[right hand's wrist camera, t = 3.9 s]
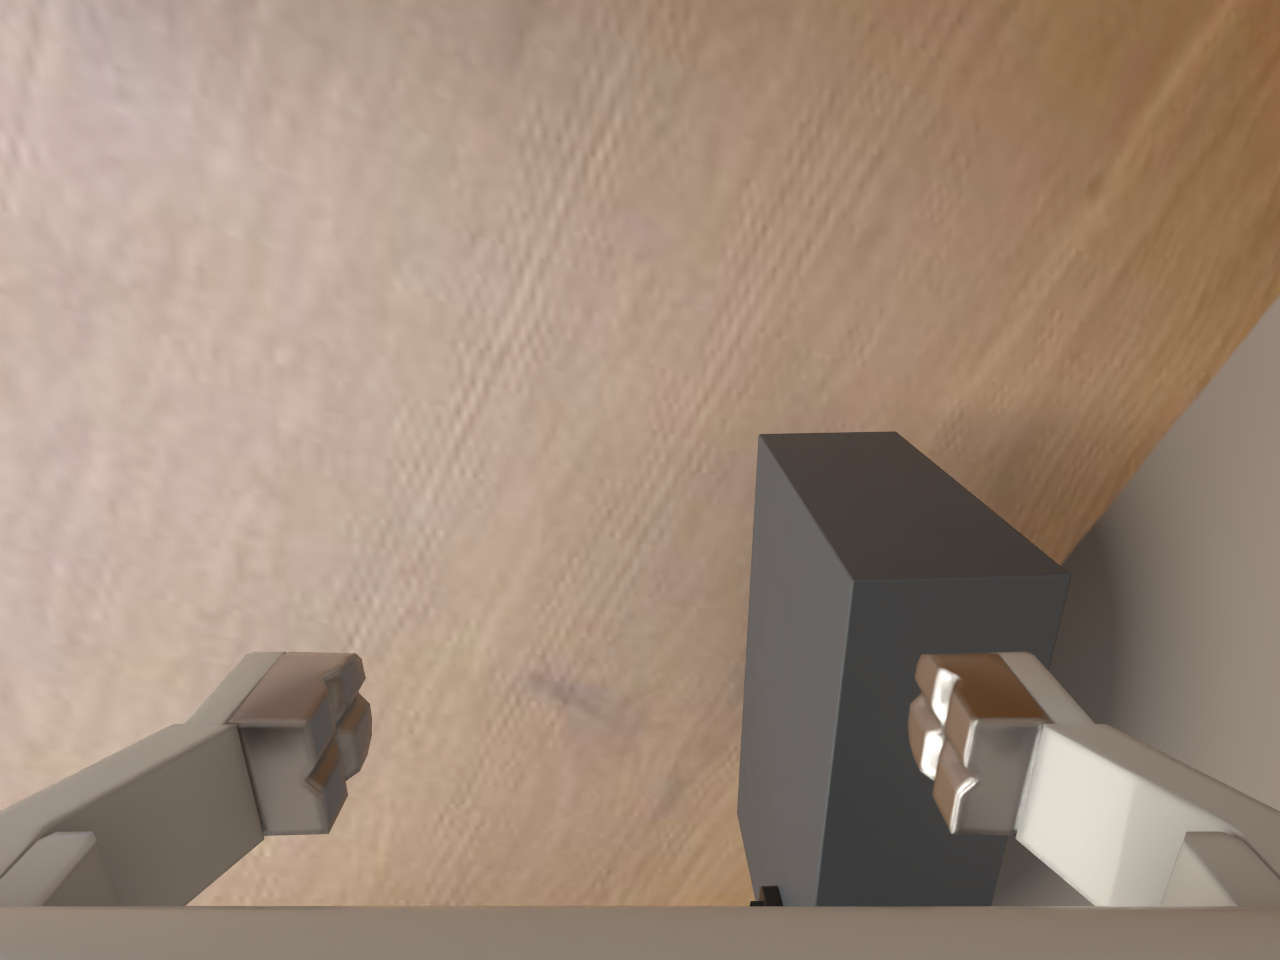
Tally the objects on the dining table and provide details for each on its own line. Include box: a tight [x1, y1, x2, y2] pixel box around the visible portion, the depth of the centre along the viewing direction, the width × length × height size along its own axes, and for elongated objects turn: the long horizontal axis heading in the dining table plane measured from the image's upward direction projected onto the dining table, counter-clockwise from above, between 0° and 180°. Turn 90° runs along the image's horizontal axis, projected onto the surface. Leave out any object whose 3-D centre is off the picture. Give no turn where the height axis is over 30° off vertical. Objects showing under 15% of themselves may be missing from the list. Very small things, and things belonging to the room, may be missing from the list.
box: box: [737, 432, 1071, 906], centre depth 29 cm, size 22×6×13 cm, turn 0°
